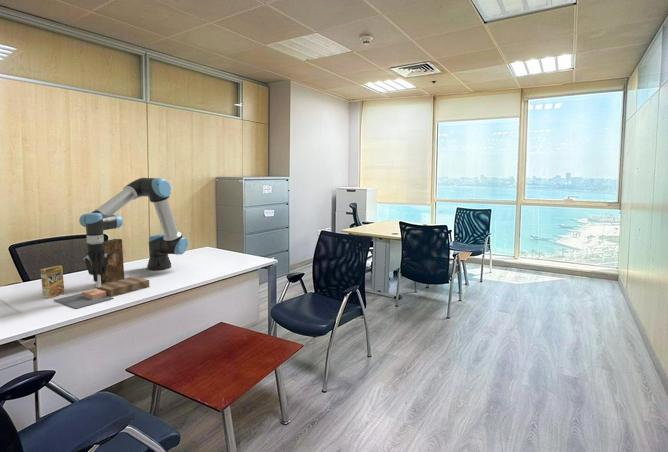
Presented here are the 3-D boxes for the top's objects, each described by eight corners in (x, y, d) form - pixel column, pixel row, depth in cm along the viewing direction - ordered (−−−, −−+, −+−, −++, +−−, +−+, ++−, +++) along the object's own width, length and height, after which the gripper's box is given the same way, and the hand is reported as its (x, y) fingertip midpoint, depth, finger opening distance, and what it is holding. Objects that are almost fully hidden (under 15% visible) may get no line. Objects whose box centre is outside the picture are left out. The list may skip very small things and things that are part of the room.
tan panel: (135, 283, 231) (134, 276, 230) (149, 287, 224) (149, 280, 223) (96, 292, 212) (96, 285, 212) (111, 297, 205) (110, 289, 204)
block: (96, 292, 210) (95, 288, 210) (106, 296, 205) (106, 291, 205) (82, 296, 204) (82, 291, 204) (92, 299, 199) (92, 294, 199)
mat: (90, 291, 213) (90, 290, 213) (113, 299, 202) (113, 298, 202) (53, 300, 198) (53, 299, 198) (76, 309, 187) (76, 308, 187)
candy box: (47, 298, 201) (45, 269, 199) (42, 297, 203) (39, 268, 200) (65, 293, 209) (62, 266, 207) (59, 292, 211) (57, 265, 209)
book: (118, 278, 239) (115, 238, 236) (125, 279, 238) (123, 239, 235) (96, 286, 224) (93, 243, 220) (105, 286, 222) (102, 243, 219)
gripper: (86, 245, 195) (89, 291, 198) (112, 241, 206) (114, 285, 209) (78, 243, 199) (81, 288, 202) (104, 240, 210) (106, 282, 213)
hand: (98, 286), depth 206 cm, fingers closed
